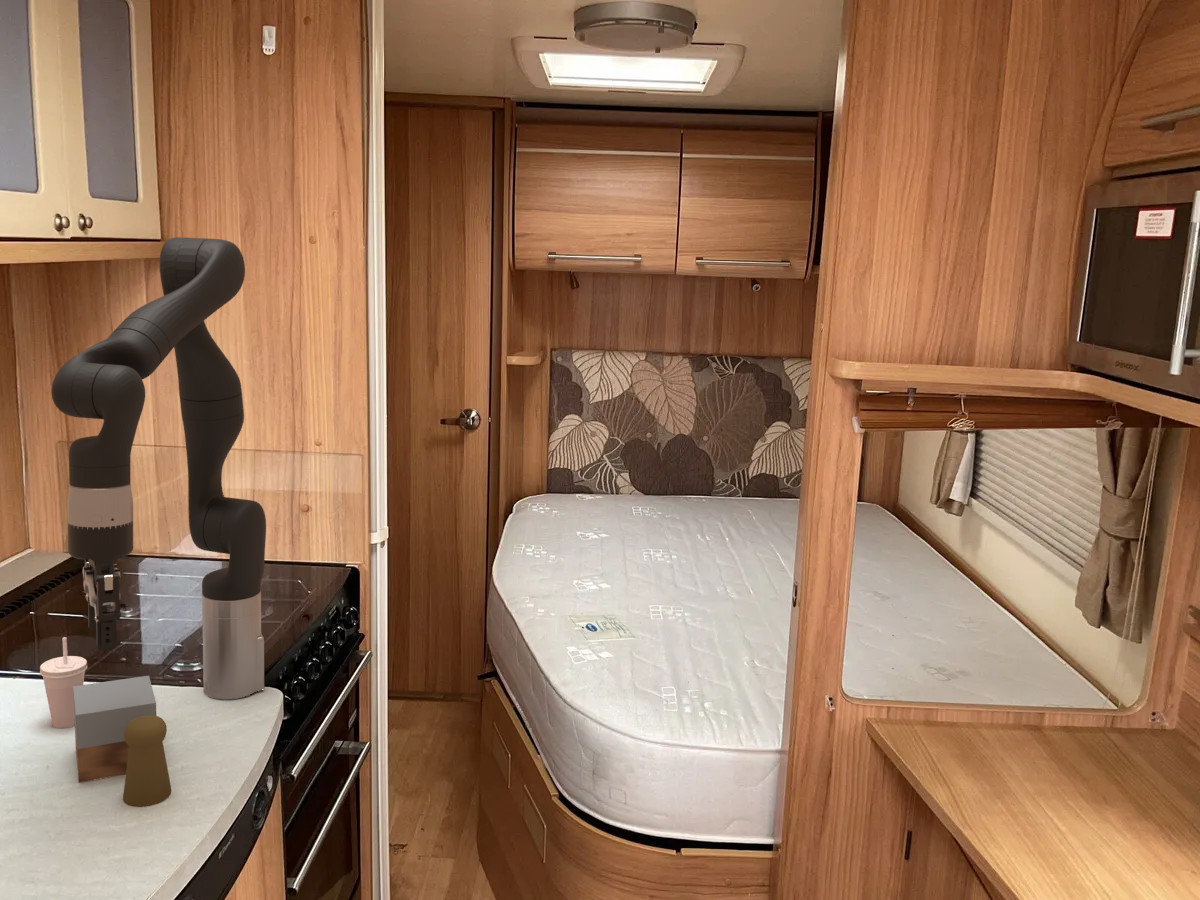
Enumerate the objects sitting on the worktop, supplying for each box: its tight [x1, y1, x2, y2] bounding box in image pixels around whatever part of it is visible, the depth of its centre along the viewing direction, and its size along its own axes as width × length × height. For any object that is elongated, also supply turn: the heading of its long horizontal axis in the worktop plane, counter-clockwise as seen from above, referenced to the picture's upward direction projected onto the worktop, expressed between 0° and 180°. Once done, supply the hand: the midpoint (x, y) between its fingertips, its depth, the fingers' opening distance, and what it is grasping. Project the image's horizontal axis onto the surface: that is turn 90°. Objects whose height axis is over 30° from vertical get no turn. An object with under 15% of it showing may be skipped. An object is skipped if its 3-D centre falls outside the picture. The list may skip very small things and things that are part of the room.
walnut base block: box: [74, 729, 129, 784], centre depth 140 cm, size 10×10×5 cm
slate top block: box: [73, 675, 157, 749], centre depth 139 cm, size 10×10×5 cm
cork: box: [122, 715, 172, 808], centre depth 131 cm, size 6×6×11 cm
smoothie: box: [39, 636, 88, 729], centre depth 149 cm, size 6×6×14 cm
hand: (102, 638), depth 128 cm, fingers open, 8 cm apart
